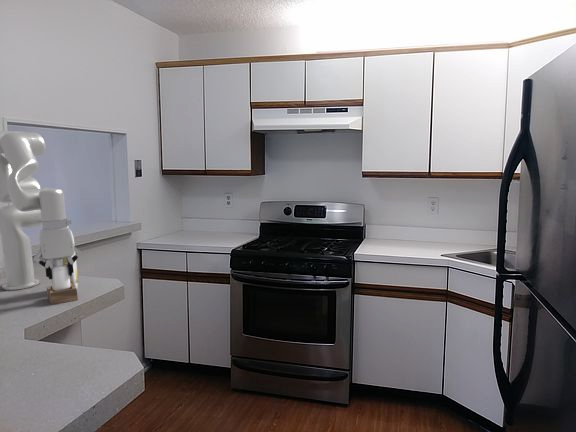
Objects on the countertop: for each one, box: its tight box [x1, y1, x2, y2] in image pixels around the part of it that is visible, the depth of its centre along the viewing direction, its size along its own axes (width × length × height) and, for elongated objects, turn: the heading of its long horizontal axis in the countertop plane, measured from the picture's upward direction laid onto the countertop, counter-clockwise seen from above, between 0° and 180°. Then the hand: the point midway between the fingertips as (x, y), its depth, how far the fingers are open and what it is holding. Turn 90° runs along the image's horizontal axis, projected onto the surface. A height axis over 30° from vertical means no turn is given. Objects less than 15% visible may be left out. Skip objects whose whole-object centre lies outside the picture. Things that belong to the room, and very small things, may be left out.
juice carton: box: [50, 225, 79, 289], centre depth 169 cm, size 9×8×24 cm
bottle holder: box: [46, 283, 79, 306], centre depth 160 cm, size 10×8×4 cm
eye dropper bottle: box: [50, 258, 71, 291], centre depth 159 cm, size 4×6×12 cm
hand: (60, 276), depth 159 cm, fingers closed on eye dropper bottle, 5 cm apart
